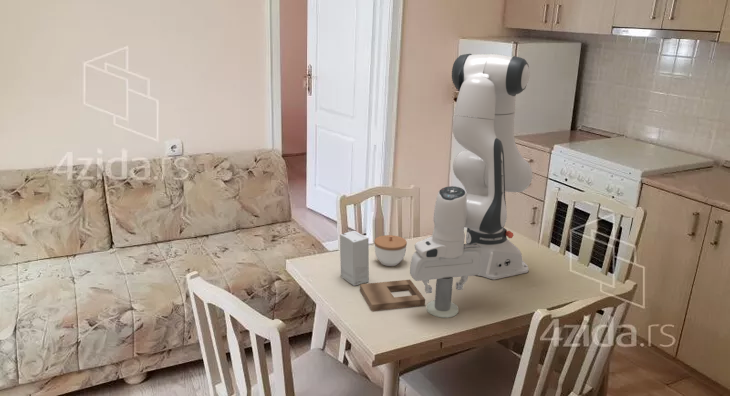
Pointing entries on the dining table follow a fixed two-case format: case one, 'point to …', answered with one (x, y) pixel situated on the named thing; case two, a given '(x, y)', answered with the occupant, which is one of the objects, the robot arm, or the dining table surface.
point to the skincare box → (354, 257)
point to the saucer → (442, 314)
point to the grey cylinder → (443, 294)
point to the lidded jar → (390, 249)
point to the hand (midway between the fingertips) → (443, 290)
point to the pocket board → (383, 299)
